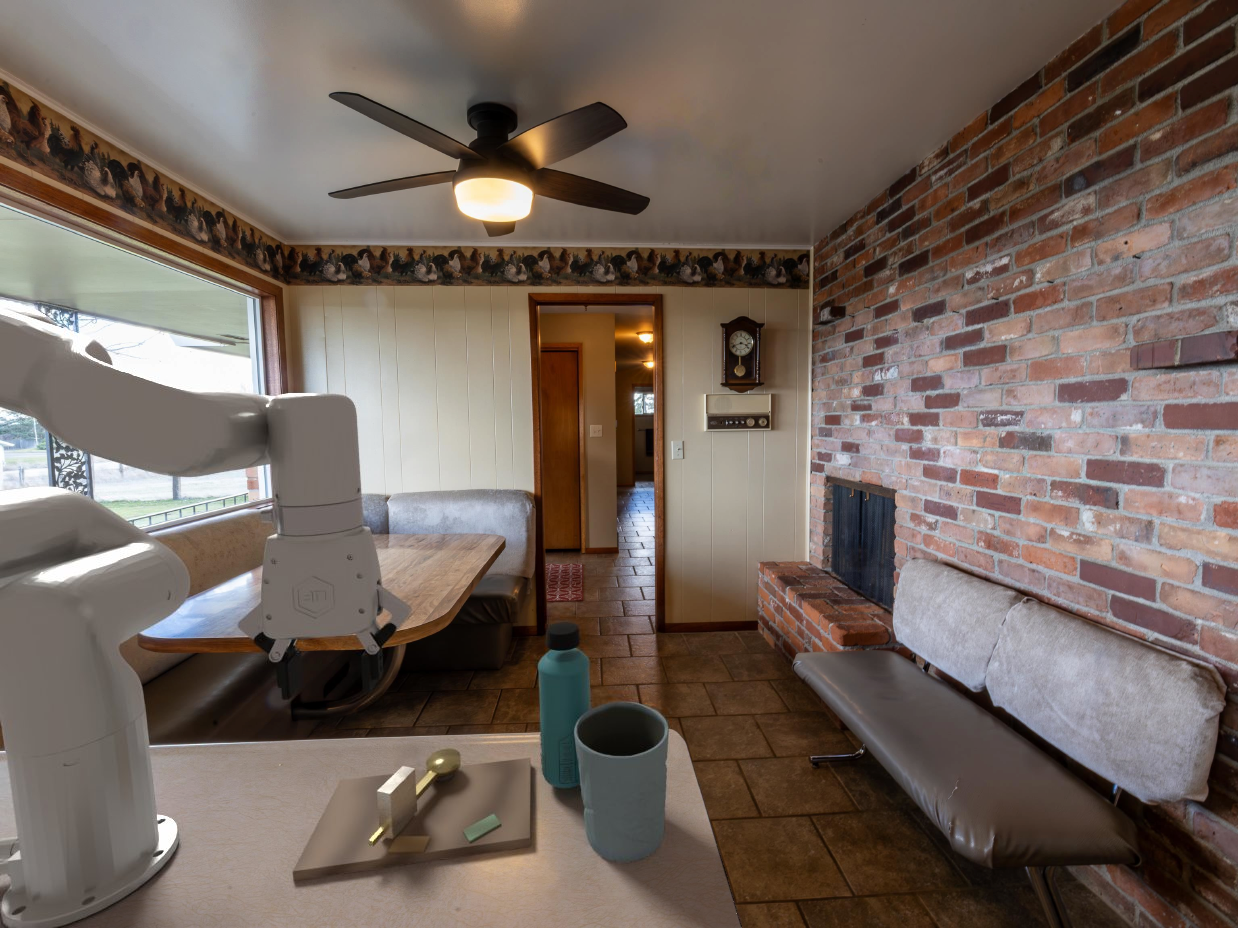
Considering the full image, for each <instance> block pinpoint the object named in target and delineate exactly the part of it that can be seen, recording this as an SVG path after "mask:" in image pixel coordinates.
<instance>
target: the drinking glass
mask: <svg viewBox="0 0 1238 928" xmlns="http://www.w3.org/2000/svg"><path fill="white" fill-rule="evenodd" d="M669 732H670V728H669V724H668V721H667V720H666V717H664V716H663V714H661V713H660V712H659V711H657V710H656V709H654V708H652V707H650V706H648V705H645V704H641V703H639V702H634V701H614V702H607V703H602V704H600V705H597V706H594V707H591V709H590V710H589V711H587V712H586V713H584V714H583V715H582V716H581V717H580V718H579V720H578V721H577V723H576V725H575V729H574V736H575V744H576V751H577V758H578V762H579V772H580V785H579V786H580V789H581V790H580V791H581V792H580V793H581V799H582V804H583V807H584V810H583V818H584V819H583V820H584V826H585V827H584V828H585V834H586V837H587V841H588V843H589V845H590V847H591V848H592V849H593V850H594V852H596V853H597V854H598V856H600V857H601V858H603V859H606V860H609V861H611V862H615V863H625V864H627V863H633V862H637V861H640V860H643V859H644V858H648V857H649V856H651V855H652V854H653V853H655V852H656V850H658V848H659V847H660V845H661V843H662V841H663V838H664V834H665V821H666V798H667V780H668V774H667V773H668V767H667V765H666V763H667V760H668V751H669V750H668V749H669V735H670V734H669Z"/></svg>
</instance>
